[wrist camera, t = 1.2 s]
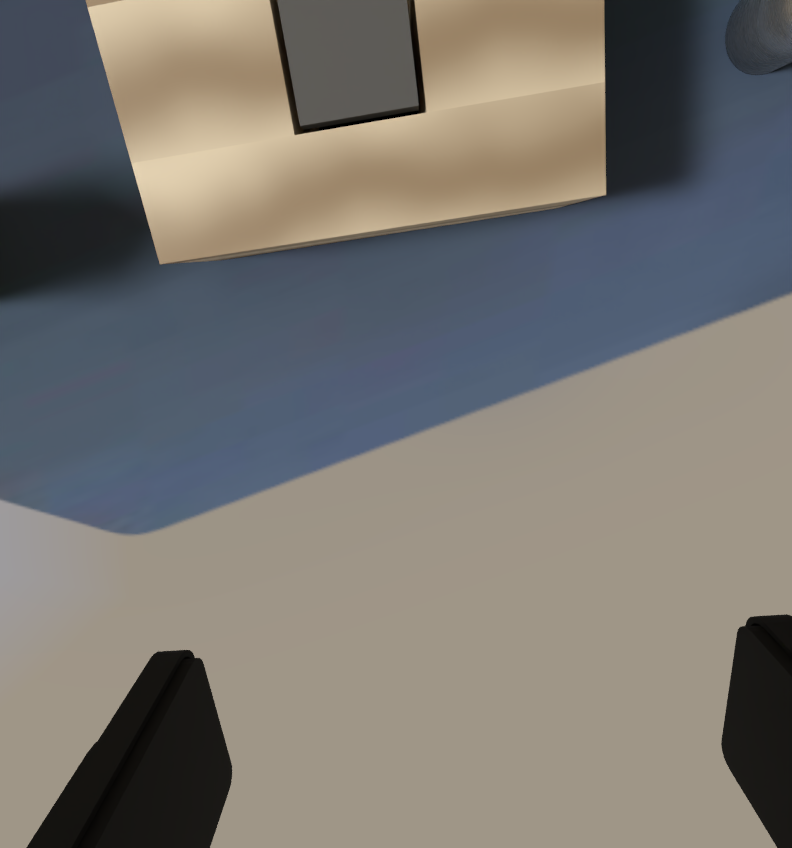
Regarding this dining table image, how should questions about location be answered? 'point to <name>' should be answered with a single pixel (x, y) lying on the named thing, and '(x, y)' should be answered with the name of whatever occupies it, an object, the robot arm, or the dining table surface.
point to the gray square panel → (349, 59)
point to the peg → (760, 35)
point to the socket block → (357, 144)
